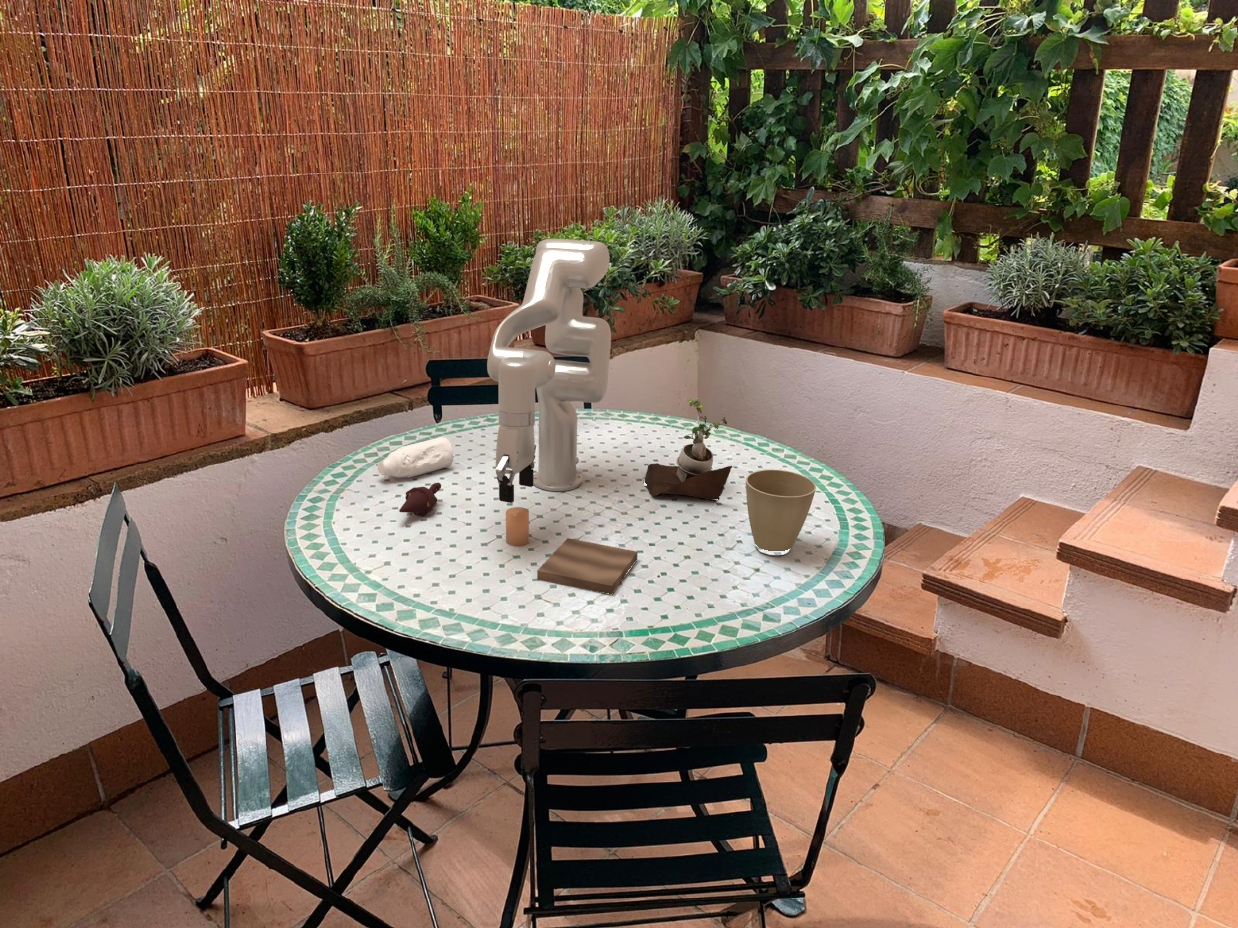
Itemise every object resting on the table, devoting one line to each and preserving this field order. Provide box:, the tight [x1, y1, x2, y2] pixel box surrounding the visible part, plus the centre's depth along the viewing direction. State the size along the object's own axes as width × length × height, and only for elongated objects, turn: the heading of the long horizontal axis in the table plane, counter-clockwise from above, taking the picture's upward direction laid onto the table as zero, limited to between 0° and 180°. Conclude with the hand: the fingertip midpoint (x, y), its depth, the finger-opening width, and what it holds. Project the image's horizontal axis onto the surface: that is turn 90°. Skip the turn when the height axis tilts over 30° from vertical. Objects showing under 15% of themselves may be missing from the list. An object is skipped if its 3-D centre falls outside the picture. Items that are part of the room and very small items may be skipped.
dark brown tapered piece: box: [398, 482, 442, 517], centre depth 212 cm, size 7×7×15 cm
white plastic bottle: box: [376, 436, 455, 479], centre depth 234 cm, size 8×19×8 cm, turn 133°
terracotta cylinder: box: [505, 506, 530, 547], centre depth 201 cm, size 5×5×7 cm
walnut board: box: [536, 537, 638, 595], centre depth 191 cm, size 16×16×2 cm
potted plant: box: [644, 397, 733, 501], centre depth 229 cm, size 20×19×25 cm
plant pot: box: [745, 469, 817, 551], centre depth 200 cm, size 15×15×16 cm
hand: (516, 493), depth 197 cm, fingers open, 9 cm apart
